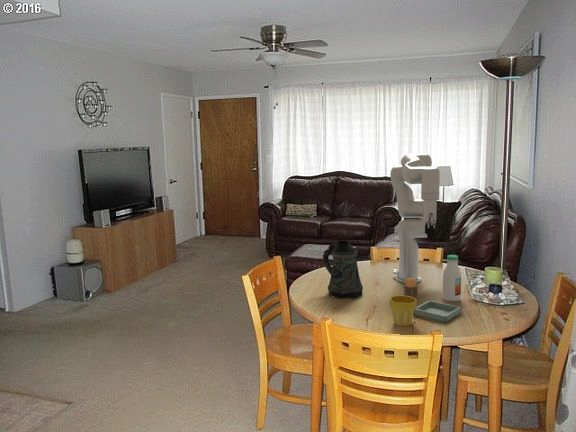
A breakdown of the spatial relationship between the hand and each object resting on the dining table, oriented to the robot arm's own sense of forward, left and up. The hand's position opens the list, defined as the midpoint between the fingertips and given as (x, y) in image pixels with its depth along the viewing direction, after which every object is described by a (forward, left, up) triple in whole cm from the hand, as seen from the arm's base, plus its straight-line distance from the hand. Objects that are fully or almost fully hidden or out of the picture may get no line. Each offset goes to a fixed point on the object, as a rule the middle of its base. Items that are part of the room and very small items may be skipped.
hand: (429, 235), depth 209 cm
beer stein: (-37, -15, -30) cm, 50 cm away
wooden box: (-6, -6, -30) cm, 31 cm away
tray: (+10, -13, -30) cm, 34 cm away
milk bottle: (+6, +9, -30) cm, 32 cm away
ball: (-6, -6, -21) cm, 23 cm away
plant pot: (+4, -30, -30) cm, 43 cm away
